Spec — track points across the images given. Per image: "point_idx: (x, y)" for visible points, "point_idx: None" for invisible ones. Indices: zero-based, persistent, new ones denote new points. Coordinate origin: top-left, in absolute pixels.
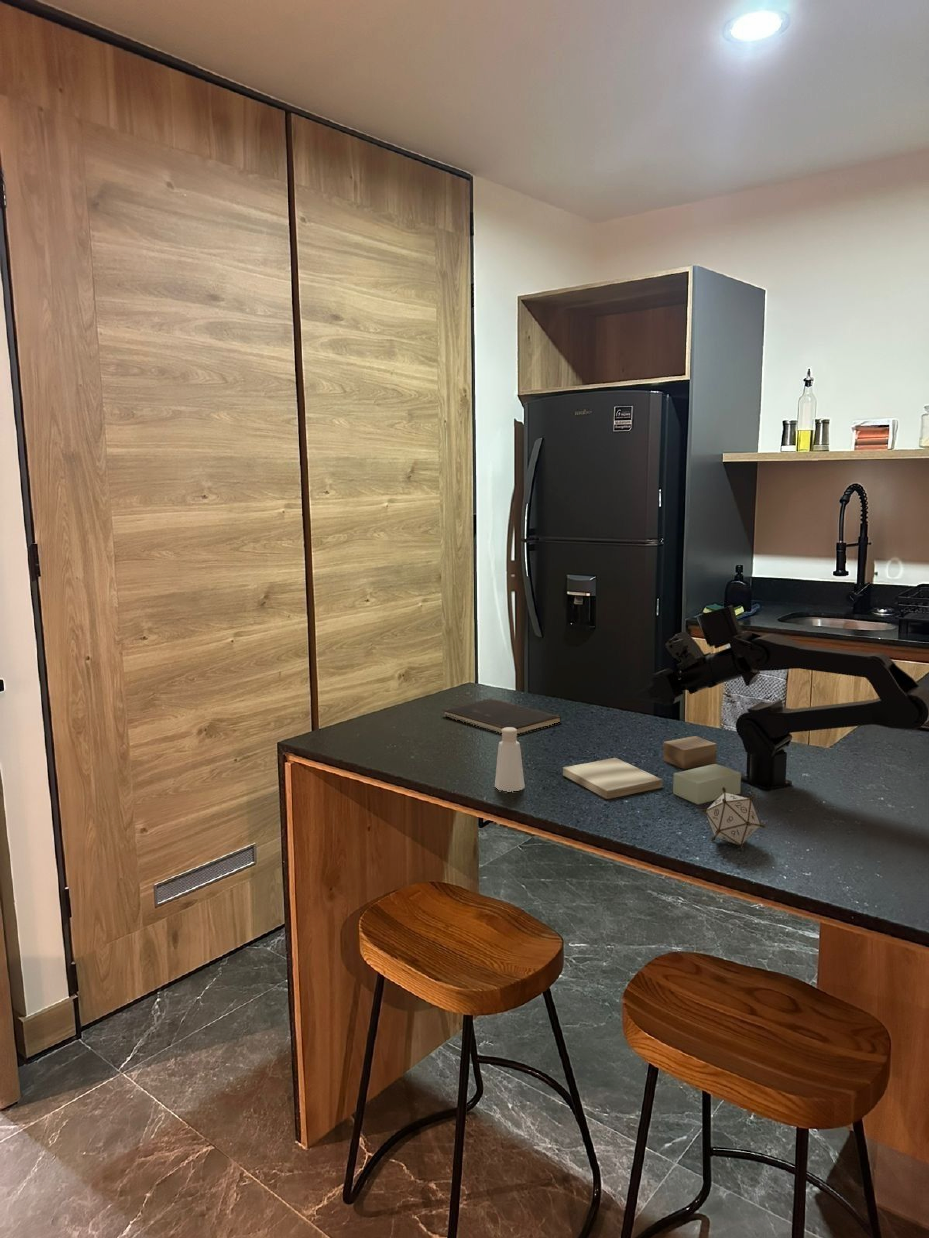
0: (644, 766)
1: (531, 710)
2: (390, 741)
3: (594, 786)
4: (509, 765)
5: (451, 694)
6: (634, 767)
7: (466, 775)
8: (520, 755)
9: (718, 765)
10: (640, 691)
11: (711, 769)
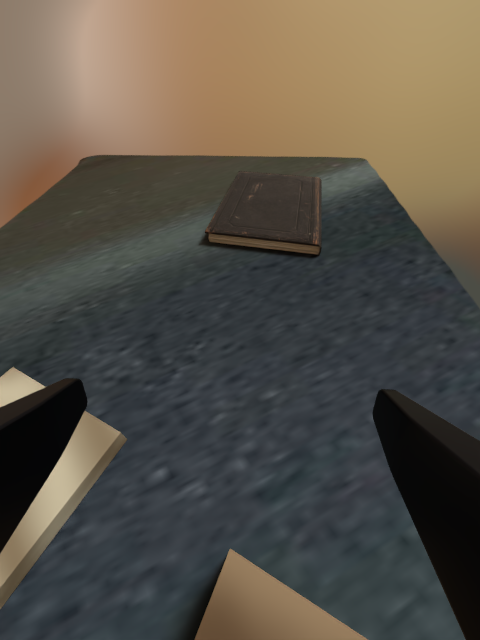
0: (145, 520)
1: (311, 215)
2: (127, 186)
3: None
4: None
5: (317, 160)
6: (36, 532)
7: (5, 271)
8: None
9: None
10: (12, 404)
11: None
